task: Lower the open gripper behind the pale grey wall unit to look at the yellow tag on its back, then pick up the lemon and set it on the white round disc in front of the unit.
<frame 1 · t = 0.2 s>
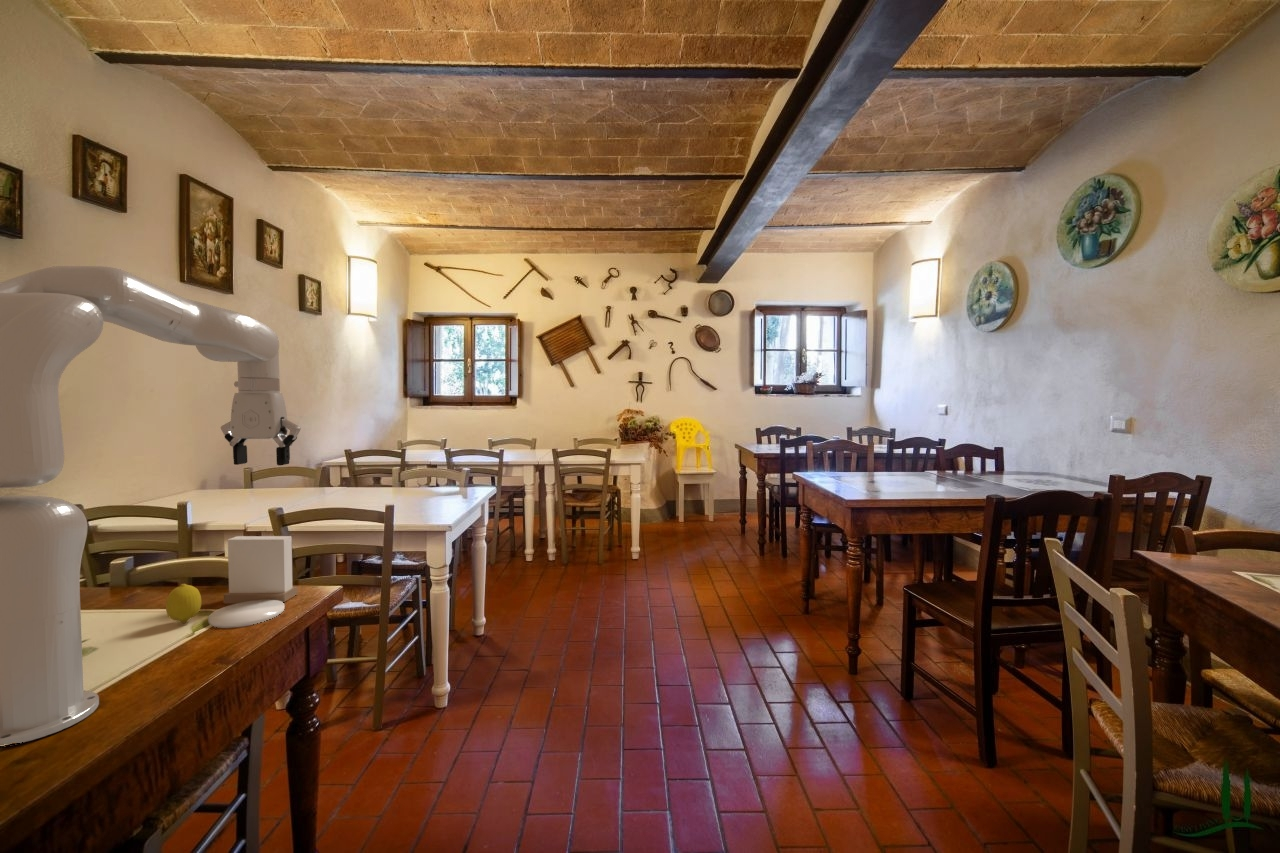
hand: (261, 464, 122), 31 cm above the table, tool pointing down, fingers open, 9 cm apart
lemon: (184, 624, 112), on the table
white round disc: (247, 615, 116), on the table
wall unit: (243, 609, 119), on the table
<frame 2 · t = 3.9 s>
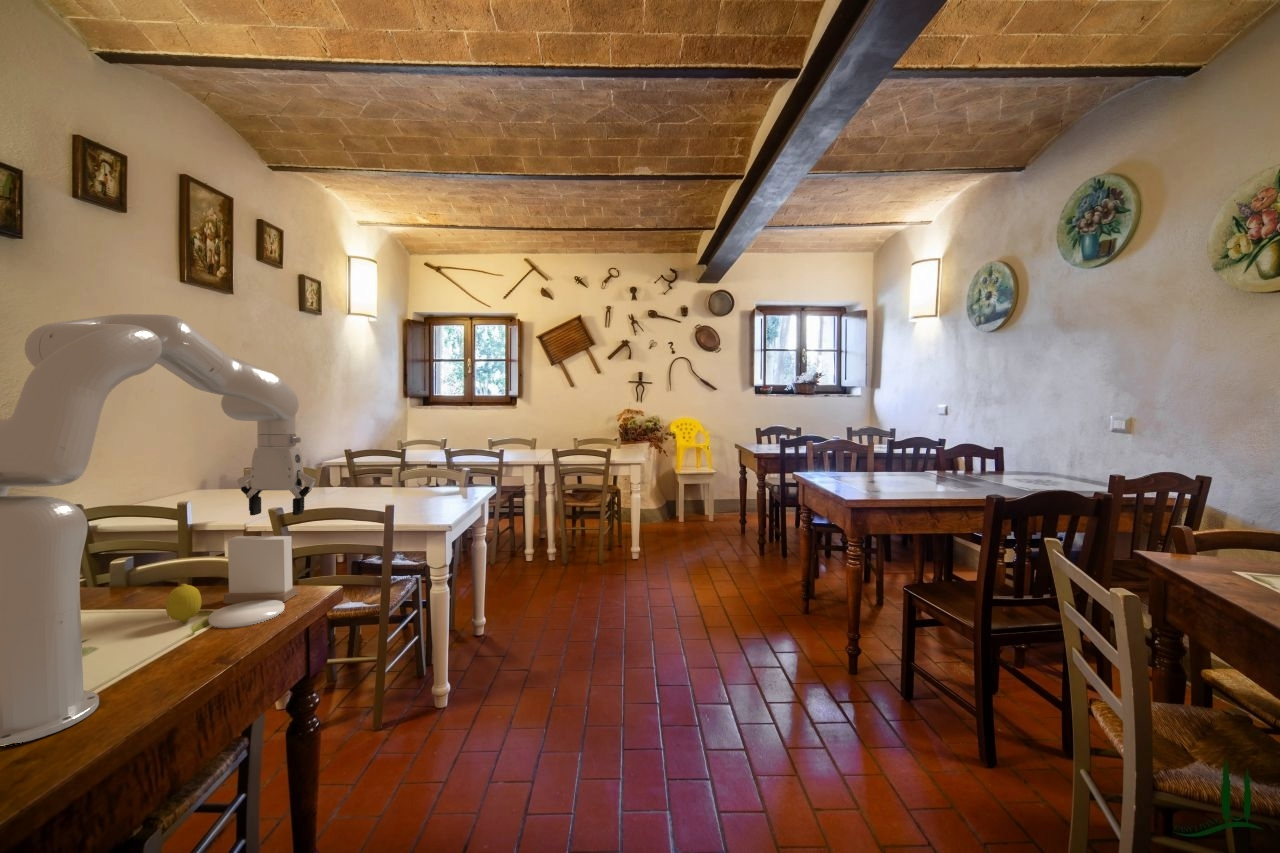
hand: (276, 514, 131), 18 cm above the table, tool pointing down, fingers open, 9 cm apart
nothing on the table moved.
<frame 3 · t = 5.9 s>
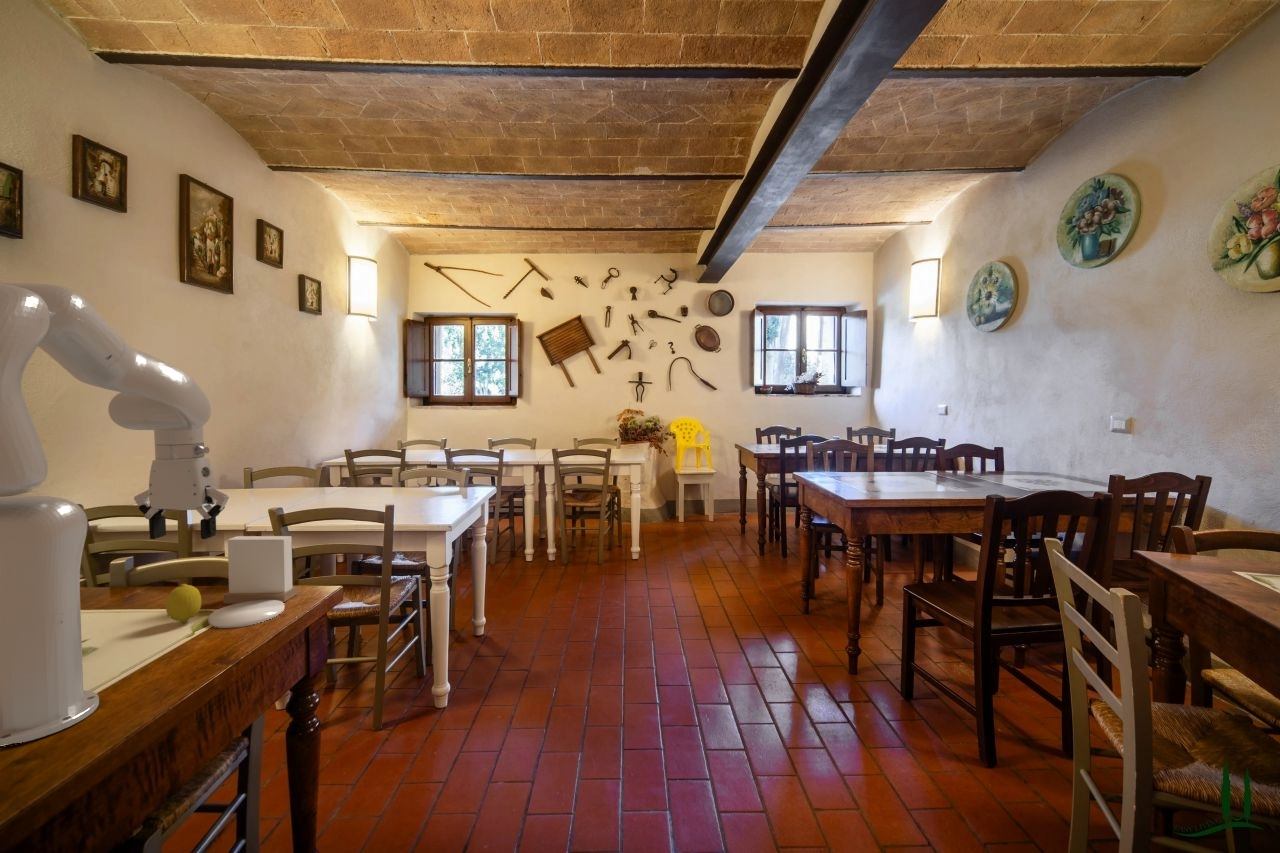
hand: (183, 537, 111), 17 cm above the table, tool pointing down, fingers open, 9 cm apart
nothing on the table moved.
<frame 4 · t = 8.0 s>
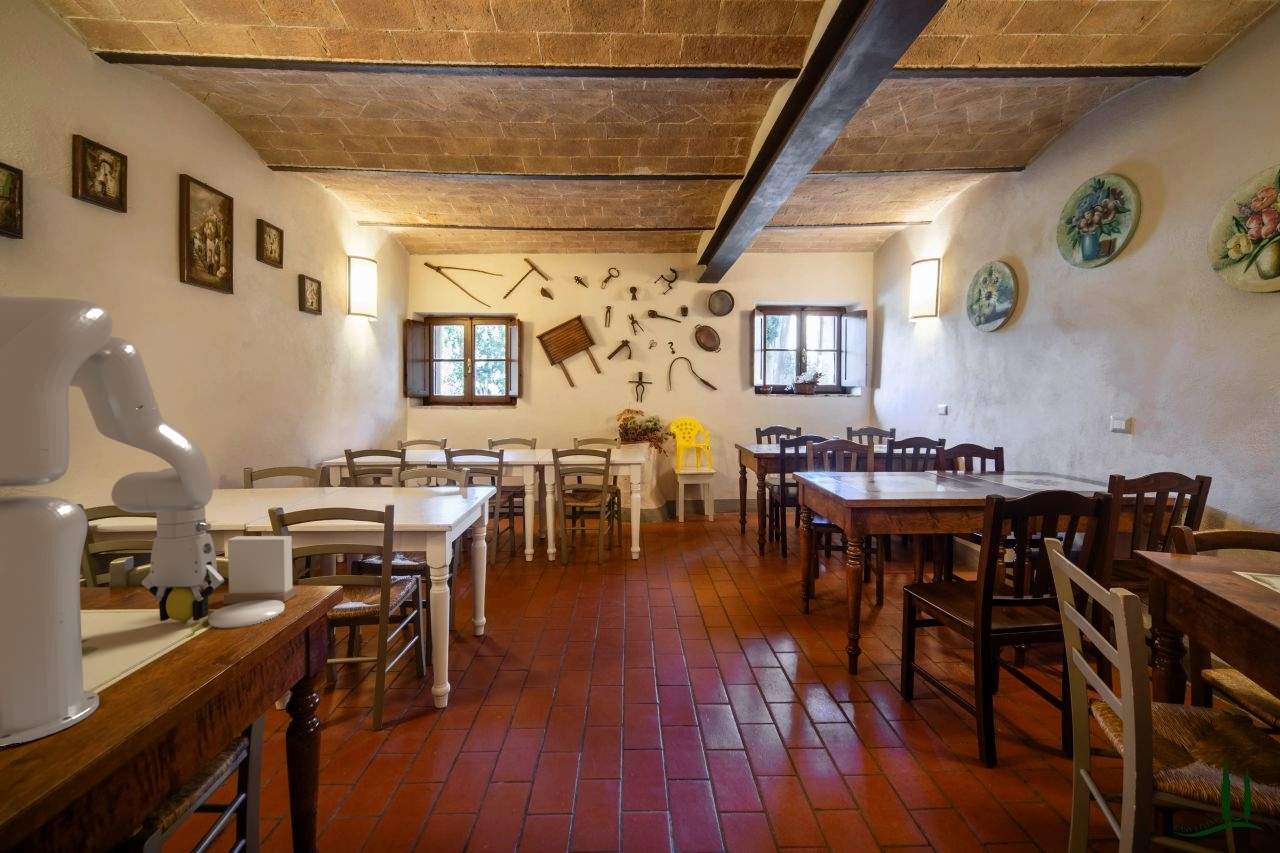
hand: (184, 617, 111), 1 cm above the table, tool pointing down, fingers closed on lemon, 5 cm apart
lemon: (184, 623, 112), on the table, touching gripper
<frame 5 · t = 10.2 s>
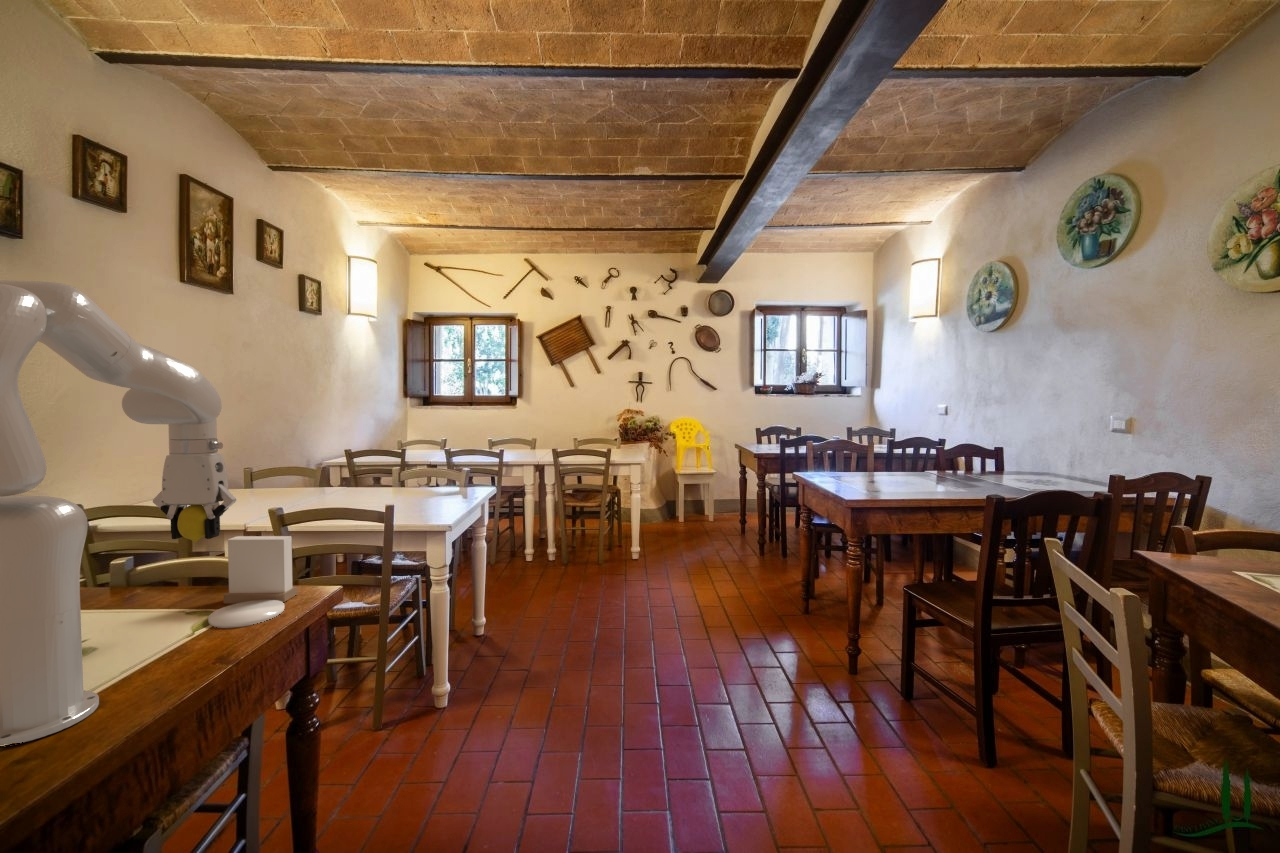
hand: (195, 536, 112), 17 cm above the table, tool pointing down, fingers closed on lemon, 5 cm apart
lemon: (195, 543, 112), point 16 cm above the table, touching gripper
when the fingers open (4 cm above the table, at t = 12.8 s): lemon drops 1 cm, resting on white round disc.
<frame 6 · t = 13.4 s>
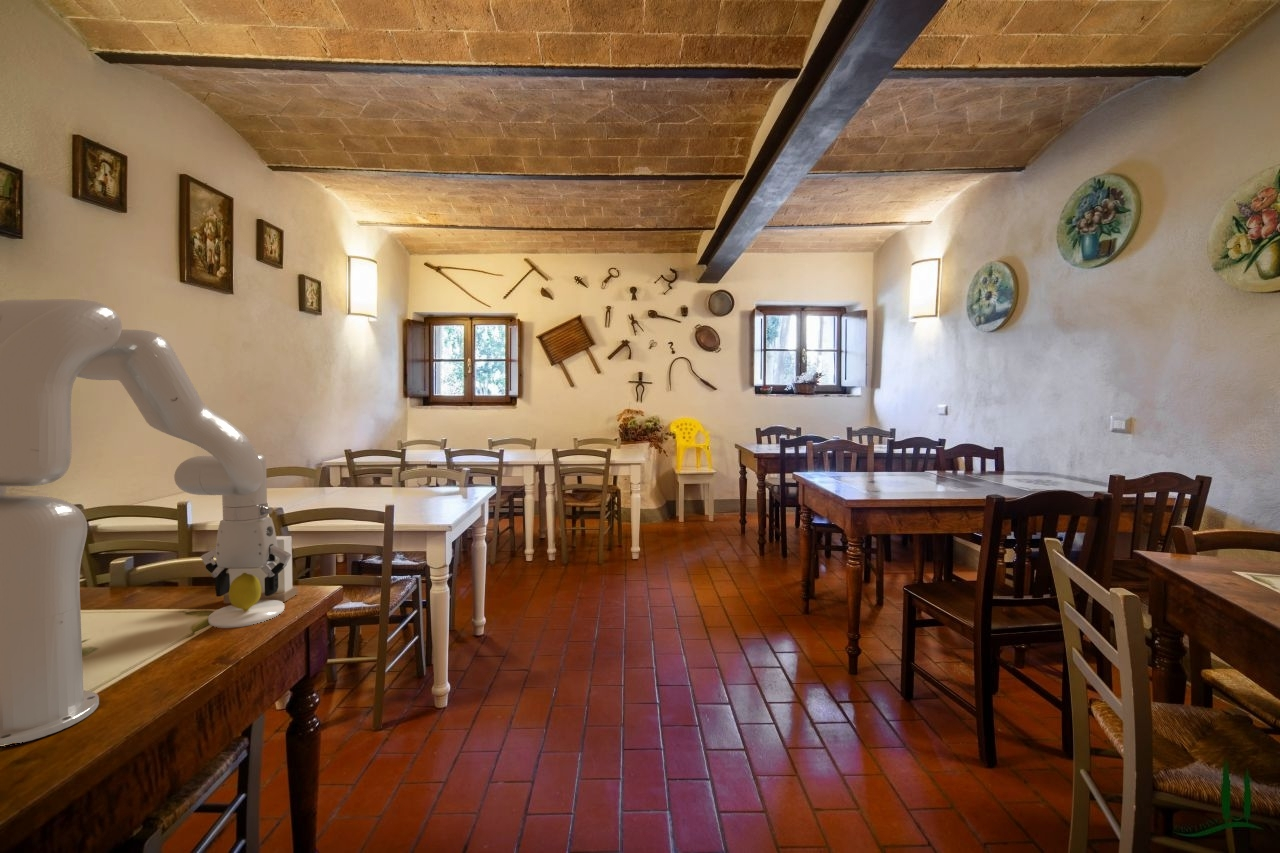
hand: (247, 594, 116), 5 cm above the table, tool pointing down, fingers open, 9 cm apart
lemon: (246, 611, 116), point 1 cm above the table, touching white round disc
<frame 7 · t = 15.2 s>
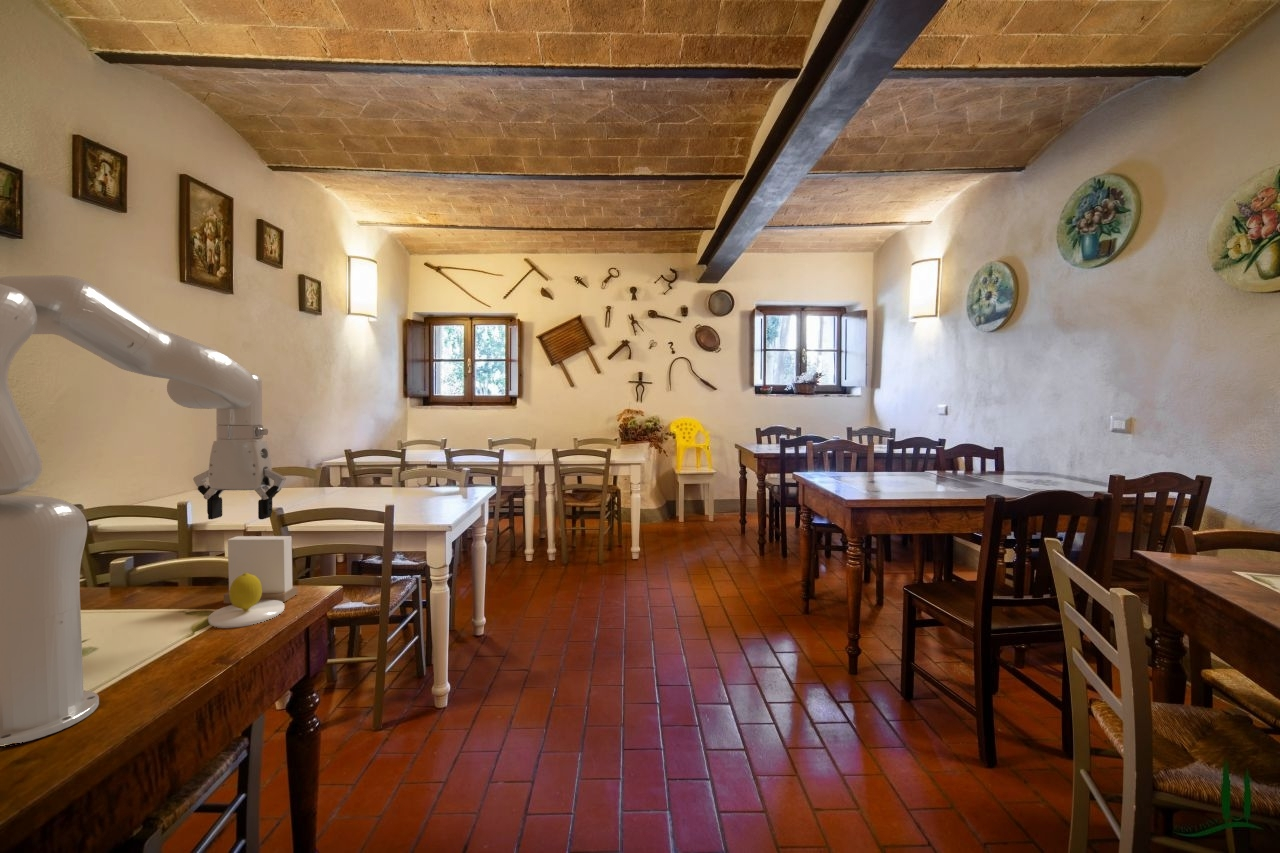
hand: (240, 518, 113), 21 cm above the table, tool pointing down, fingers open, 9 cm apart
nothing on the table moved.
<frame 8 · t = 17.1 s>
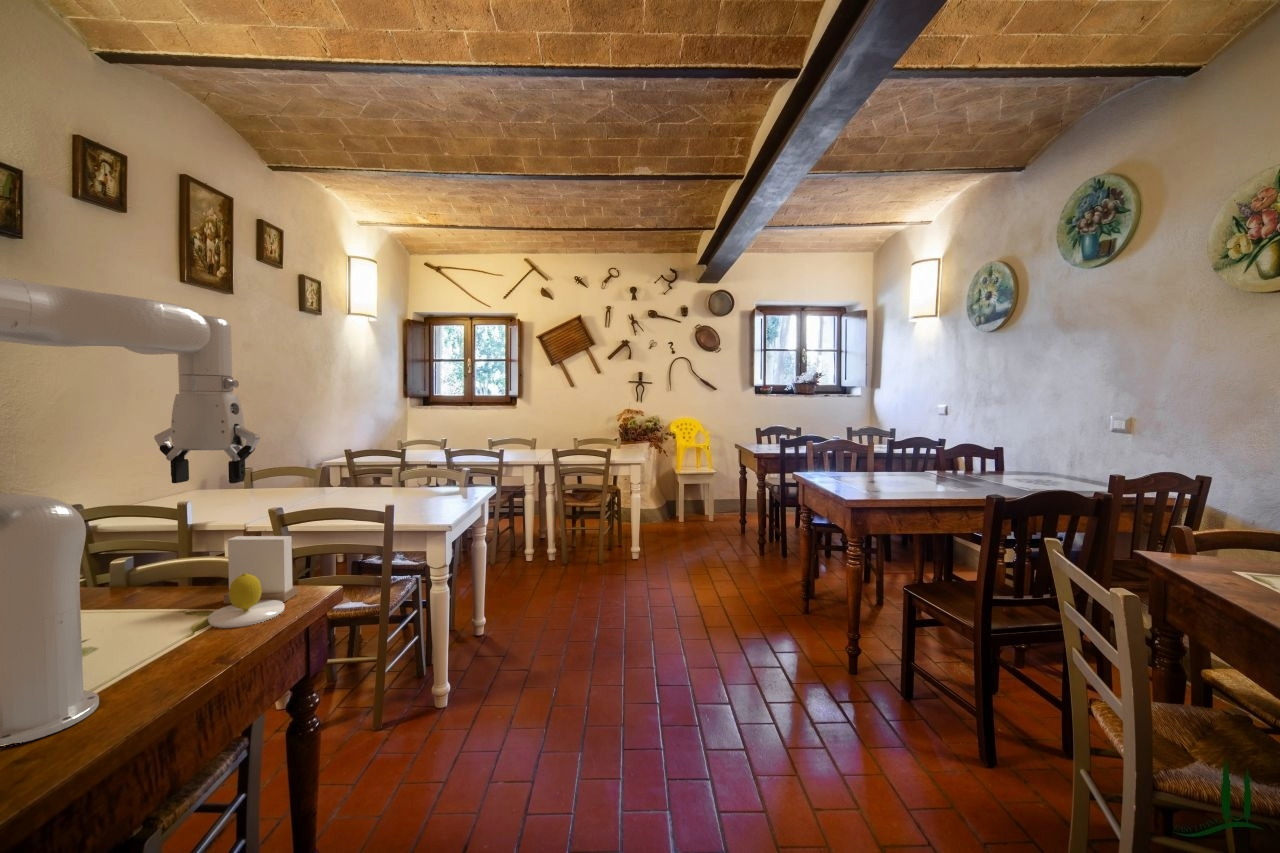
hand: (208, 482, 99), 30 cm above the table, tool pointing down, fingers open, 9 cm apart
nothing on the table moved.
at the end: lemon 0.3 cm from the target spot, point 0.8 cm above the table; lemon touching white round disc; the gripper is holding nothing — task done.
